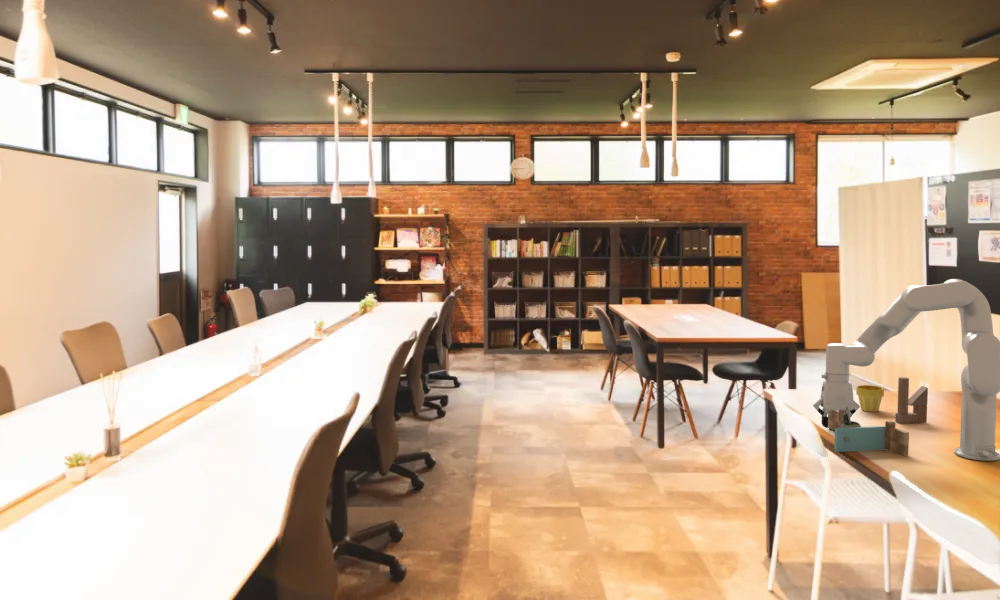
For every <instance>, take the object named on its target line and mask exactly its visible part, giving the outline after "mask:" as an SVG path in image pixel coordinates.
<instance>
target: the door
mask: <svg viewBox="0 0 1000 600" xmlns="http://www.w3.org/2000/svg"><path fill="white" fill-rule="evenodd" d="M833 447H834V450H833V451H834V452H836V453H842V452H843V453H844V452H845V453H846V452H861V451H860V450H864V451H879V450H880V451H881V450H885V425H875V426H872V425H871V426H861V427H851V428H835V431H834V445H833Z"/></svg>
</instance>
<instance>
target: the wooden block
mask: <svg viewBox="0 0 1000 600" xmlns="http://www.w3.org/2000/svg"><path fill="white" fill-rule="evenodd" d="M897 379H898V381H897V382H898V383H897V385H898V386H897V412H895V415H894V416H895V418H894V422H895V423H898V424H901V423H902V424H927V423H928V422H927V418H928V416H927V415H928V393H929V387H926V386H924V385H921V386H920V387H919V388H918V389H917V390H916V391H915V392H914V393H913V394H912V395H911V396H910V397H909V390H910V387H909V386H910V378H909V377H906V376H900V377H899V376H898V378H897ZM909 406H912V412H910V411H909Z"/></svg>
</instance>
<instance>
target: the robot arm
mask: <svg viewBox="0 0 1000 600" xmlns="http://www.w3.org/2000/svg"><path fill="white" fill-rule="evenodd" d="M946 309H949V310H950V309H957V311H958V312H959V317H960V327H961V347H962V350H963V352H964V353H965V354H966V355H967V356H966V358H967V364H966V365H965V366H964V367H963V369H962V371H961V374H960V375H961V376H960V382H961V383H960V384H961V385H960V386H961V410H960V411H961V412H960V416H961V417H960V439H959V441H960V443H959V446H958V447H955V448H954V454H955V455H957V456H959V457H961V458H965V459H970V460H973V461H974V460H975V461H981V462H982V461H983V462H994V461H998V460H999V461H1000V453H999V452H997V451H996V427H997V425H996V424H997V409H998V408H997V407H998V406H997V404H998V402H997V401H998V398H997V394H999V393H1000V339H999V338H998V337H997V336H996V335H994V328H993V318H992V311H991V306H990V303H989V301H988V299H987V298H986V296H985V295H984V294H983V292H981V290H979V288H977V287H976V286H974V284H971V283H969V282H968V281H965V280H963V279H959V278H950V279H947V280H946V281H944V282H943V283H937V284H928V285H921V284H912V285H909V286H906V288H904V289H903V290H902V291H901V293H900V294H899V295H898V296H897V297H896V298H895V299H894V300H893V302H892V303H890V304H889V306H888V307H887V308H886V309H885V310H884V311H883V312H882V313H881V314H880V315H879V316H878V317H877V318H876V319H875V320H874V322H872V323H871V324H870V325H869V326H868V327H867V328H866V329H865V330H864V331H863V332H862V333H861V334H860V336H858V338H857V339H856V340H855V341H854V342H853V343H852V344H851V345H848V344H846V343H841V342H840V343H839V342H831V343H828V344H827V345H826V350H825V352H826V353H825V372H824V374H821V379H824V380H823V382H822V385H821V391H820V398H819V399H818V400H817V401H816V402H814V404H812V407H813V408H814V409H815V410H816V411H817V412H818V413H819V414H820V415H821V425H822V426H823V428H825V429H828V412H829V410H844V412H845V415H844V420H843V422H845V421H849V419H848V414H847V410H846V406H847V407H848V409H849V415H850V418H852V416H853V415H854V414H855V413H856V411H858V410H859V409H861V406H860V404H858V403H857V402H856V401H855V400H854V390H853V384H852V382H851V381H850V377H849V376H850V366H856V367H860V368H861V367H864V368H865V367H869V366H870V365H872V364H873V363H874V361H875V359H876V357H875V356H876V355H875V353H876V352H877V351H878V350H879V349H880V348H881V347H882V346H883V345H884V344H885V343H886V342H887V341H888V340H890V339H891V338H893V337H896V336H898V335H899V334H901V333H902V332H903V331H904V330H905V329H906V328H907V327H908V326H909V324H910V323H911V322H913V320H915V319H916V317H917V316H918V315H920V313H922V312H932V311H940V310H946ZM821 407H822V409H821Z"/></svg>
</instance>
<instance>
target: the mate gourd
mask: <svg viewBox="0 0 1000 600" xmlns="http://www.w3.org/2000/svg"><path fill="white" fill-rule="evenodd" d="M846 410H847V414H848V419H849V421H845V422H843V423H842V425H841V427H840V428H851V427H862V425H861V424H860V423H859V422H858V421H857V422H856V421H852V420H851V417H850V415H849V409H848V407H847V406H846Z"/></svg>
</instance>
